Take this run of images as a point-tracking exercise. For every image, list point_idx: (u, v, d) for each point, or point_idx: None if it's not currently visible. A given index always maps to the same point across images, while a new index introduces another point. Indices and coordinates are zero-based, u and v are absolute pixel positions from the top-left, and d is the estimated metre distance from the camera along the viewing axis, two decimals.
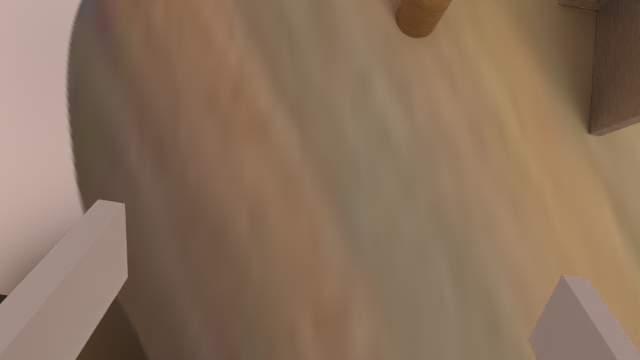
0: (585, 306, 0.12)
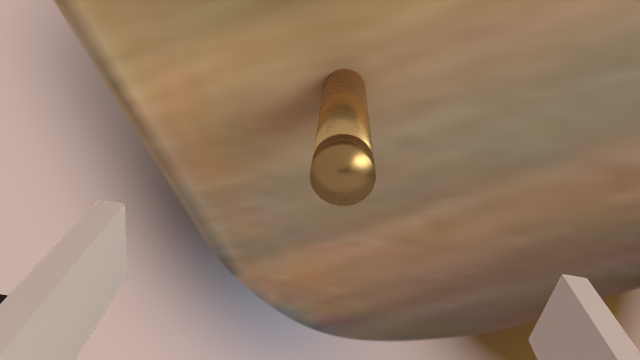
0: (586, 305, 0.12)
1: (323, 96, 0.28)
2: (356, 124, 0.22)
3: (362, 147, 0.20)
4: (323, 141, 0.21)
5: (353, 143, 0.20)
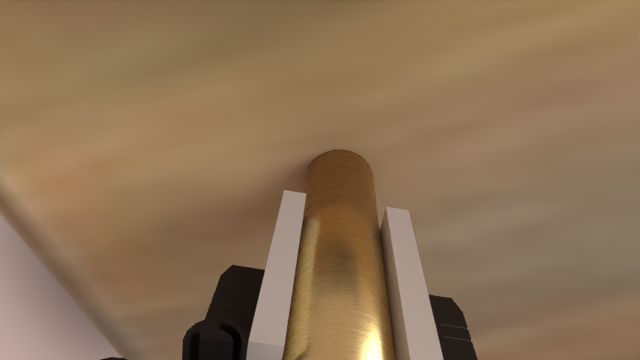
0: (392, 229, 0.14)
1: None
2: (364, 341, 0.10)
3: None
4: None
5: None
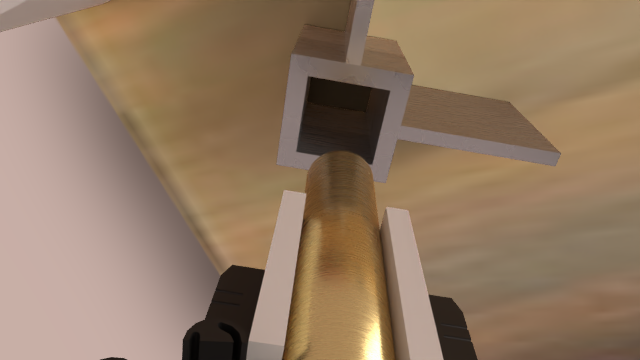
0: (392, 228, 0.14)
1: None
2: (364, 342, 0.10)
3: None
4: None
5: None
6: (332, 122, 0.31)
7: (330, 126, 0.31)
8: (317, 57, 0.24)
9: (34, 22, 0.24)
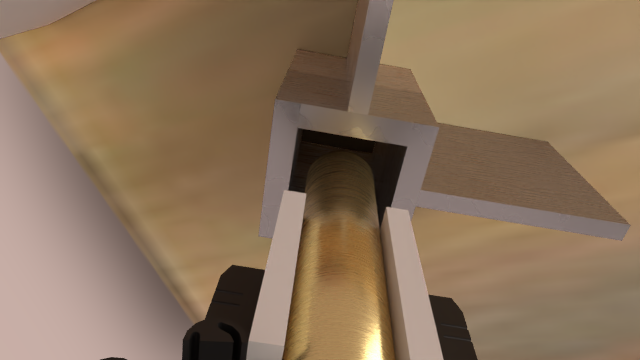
0: (392, 228, 0.14)
1: None
2: (364, 342, 0.10)
3: None
4: None
5: None
6: None
7: None
8: (310, 103, 0.18)
9: None
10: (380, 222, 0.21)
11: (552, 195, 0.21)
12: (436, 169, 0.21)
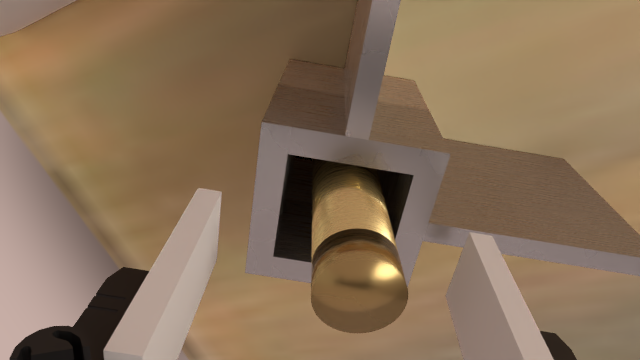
0: (483, 257, 0.14)
1: None
2: (371, 206, 0.15)
3: (387, 252, 0.13)
4: (327, 239, 0.14)
5: (374, 247, 0.13)
6: None
7: None
8: (302, 127, 0.16)
9: None
10: None
11: (575, 225, 0.19)
12: (445, 196, 0.19)
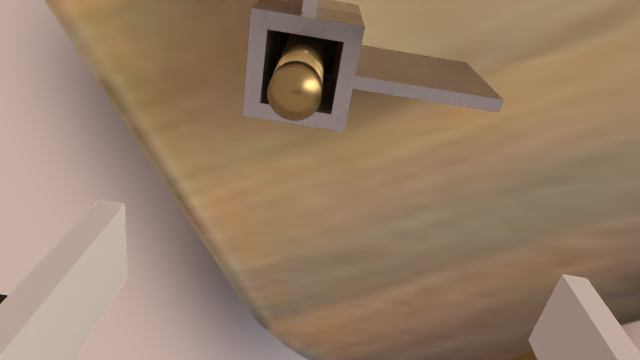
0: (585, 305, 0.12)
1: (286, 43, 0.32)
2: (308, 56, 0.26)
3: (310, 69, 0.24)
4: (278, 67, 0.25)
5: (303, 66, 0.24)
6: None
7: None
8: (275, 11, 0.26)
9: None
10: (331, 107, 0.29)
11: (453, 84, 0.29)
12: (370, 68, 0.29)
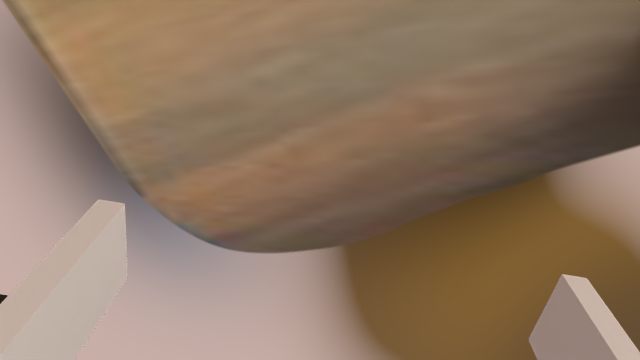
0: (585, 305, 0.12)
1: None
2: None
3: None
4: None
5: None
6: None
7: None
8: None
9: None
10: None
11: None
12: None
